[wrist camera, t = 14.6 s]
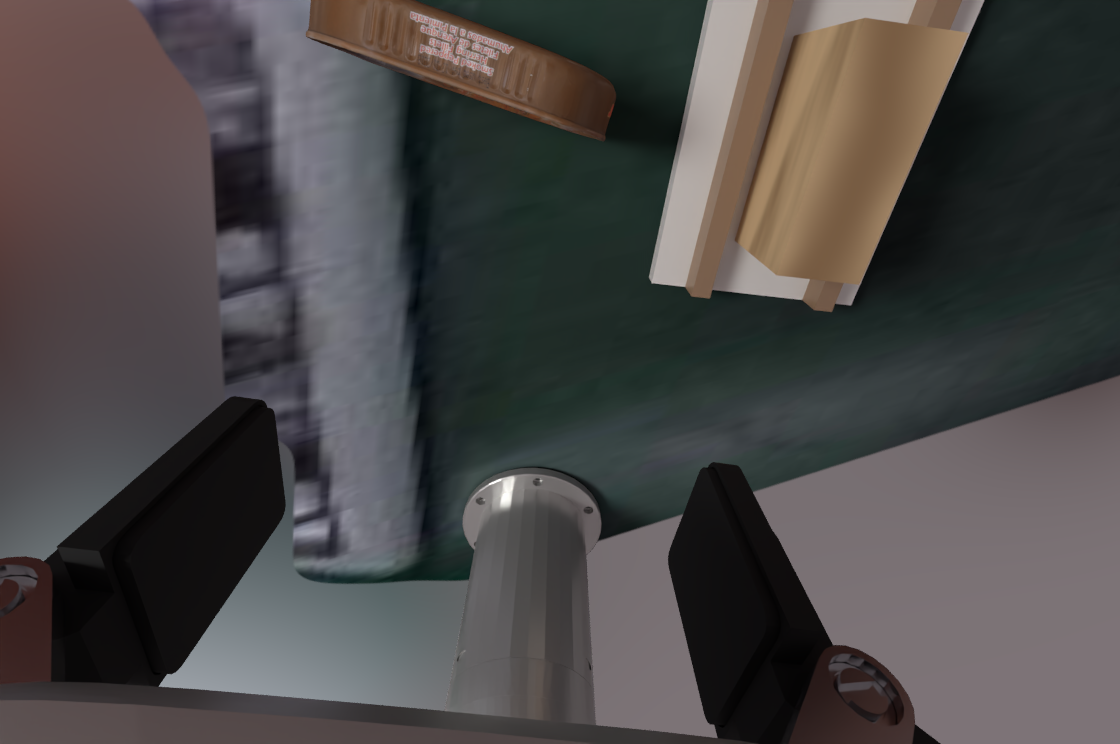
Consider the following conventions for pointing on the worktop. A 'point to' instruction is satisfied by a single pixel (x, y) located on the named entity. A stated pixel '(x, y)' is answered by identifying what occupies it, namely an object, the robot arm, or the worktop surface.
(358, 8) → the tin
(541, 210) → the worktop surface
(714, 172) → the cradle
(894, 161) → the oak block
